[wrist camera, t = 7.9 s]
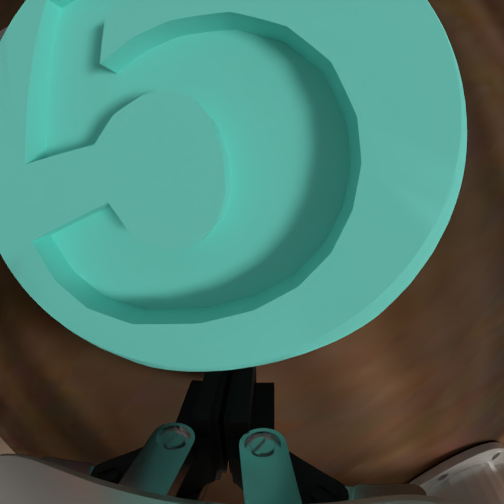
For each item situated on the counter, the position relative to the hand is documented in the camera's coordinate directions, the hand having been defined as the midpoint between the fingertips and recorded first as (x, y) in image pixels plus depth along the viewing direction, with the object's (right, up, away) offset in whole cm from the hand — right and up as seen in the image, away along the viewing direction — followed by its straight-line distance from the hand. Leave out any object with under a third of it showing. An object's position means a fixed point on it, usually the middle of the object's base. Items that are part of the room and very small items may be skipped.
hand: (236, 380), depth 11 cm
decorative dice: (0, +9, -1) cm, 9 cm away
